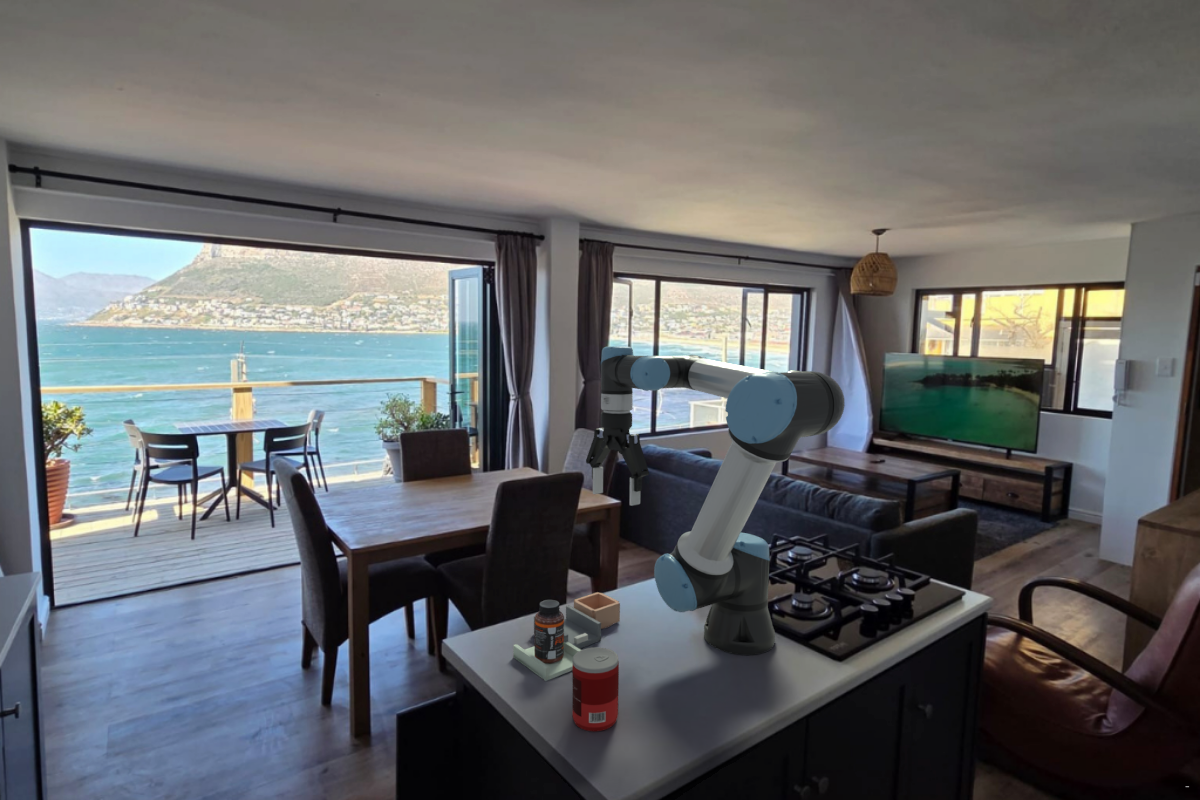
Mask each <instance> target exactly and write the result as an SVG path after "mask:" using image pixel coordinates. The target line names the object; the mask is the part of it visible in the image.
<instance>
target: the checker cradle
mask: <svg viewBox="0 0 1200 800" xmlns="http://www.w3.org/2000/svg"><path fill="white" fill-rule="evenodd" d="M533 634H534V635H535V615H534V616H533ZM601 635H602V629H601V623H600V622H599V621H597V620H595V619H593V618H591V617H589V616H588V615H586V614H584V613H582V612H580V611H578V610H577V609H575V608H574V606H571V605H569V604H568V605H566V606H565V618H564V642H567V641H568V642H569V643H571V644H572V645H574V646H576V647H577V648H579V649H580V650H581V649H582V648H583V649H584V648H585V647H588V646H590V645H593V644H596V643H598V642H600V641H602V636H601Z"/></svg>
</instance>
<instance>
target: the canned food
mask: <svg viewBox="0 0 1200 800" xmlns="http://www.w3.org/2000/svg"><path fill="white" fill-rule="evenodd" d="M580 650H581V651H579V652H577V653H576V654H575V655H574V657H573V666H572V678H571V679H572V681H571V682H572V683H571V684H572V693H571V694H572V695H571V697H572V702H571V703H572V704H571V705H572V708H571V709H572V719H573V722H574V724H575V725H576V727H579V728H580V729H581V730H584V731H587V732H601V731H605V730H608V729H610V728H612V727H613V726H614V725H615V724H616V722H617V719H618V717H619V685H620V684H619V681H620V680H619V675H620V674H619V673H620V667H619V666H620V665H619V663H620V660H619V655H618V654H617V653H616V652H615V651H614V650H611V649H609V648H606V647H605V648H604V647H588V648H583V649H580Z"/></svg>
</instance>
